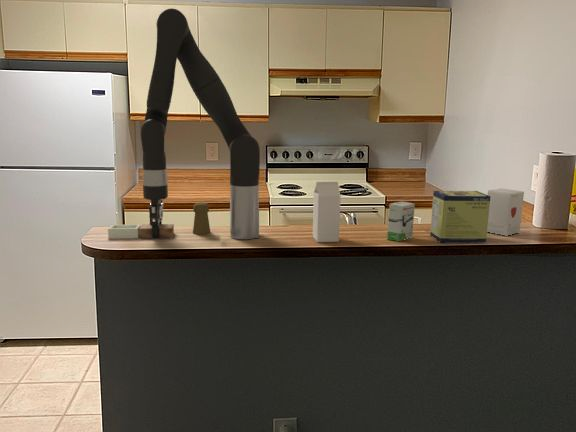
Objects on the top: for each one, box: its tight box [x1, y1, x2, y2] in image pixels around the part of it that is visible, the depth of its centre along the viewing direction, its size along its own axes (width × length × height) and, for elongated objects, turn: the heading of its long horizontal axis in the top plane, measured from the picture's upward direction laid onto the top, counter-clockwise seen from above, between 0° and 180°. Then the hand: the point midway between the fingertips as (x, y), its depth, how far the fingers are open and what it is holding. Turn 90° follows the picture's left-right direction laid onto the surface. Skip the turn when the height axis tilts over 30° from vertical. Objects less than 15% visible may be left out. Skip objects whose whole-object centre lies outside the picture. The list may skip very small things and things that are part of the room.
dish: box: [107, 224, 142, 239], centre depth 167 cm, size 9×6×4 cm, turn 97°
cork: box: [192, 201, 211, 236], centre depth 172 cm, size 6×6×11 cm
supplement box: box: [487, 188, 525, 237], centre depth 182 cm, size 9×9×15 cm
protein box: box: [429, 190, 491, 243], centre depth 172 cm, size 10×16×16 cm
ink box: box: [386, 200, 416, 242], centre depth 172 cm, size 9×5×12 cm, turn 137°
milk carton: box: [312, 181, 342, 243], centre depth 168 cm, size 7×7×19 cm
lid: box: [139, 223, 175, 239], centre depth 168 cm, size 10×6×3 cm, turn 97°
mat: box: [140, 238, 171, 240], centre depth 168 cm, size 9×9×1 cm
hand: (157, 234), depth 168 cm, fingers open, 6 cm apart
